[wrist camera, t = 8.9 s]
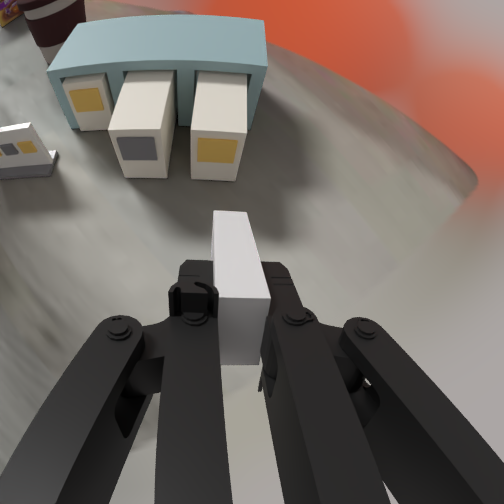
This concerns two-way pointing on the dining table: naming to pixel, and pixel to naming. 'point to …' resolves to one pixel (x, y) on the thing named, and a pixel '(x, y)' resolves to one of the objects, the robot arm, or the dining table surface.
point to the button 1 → (90, 100)
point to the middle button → (145, 123)
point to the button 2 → (218, 125)
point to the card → (24, 153)
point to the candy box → (8, 11)
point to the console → (164, 54)
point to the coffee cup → (52, 22)
